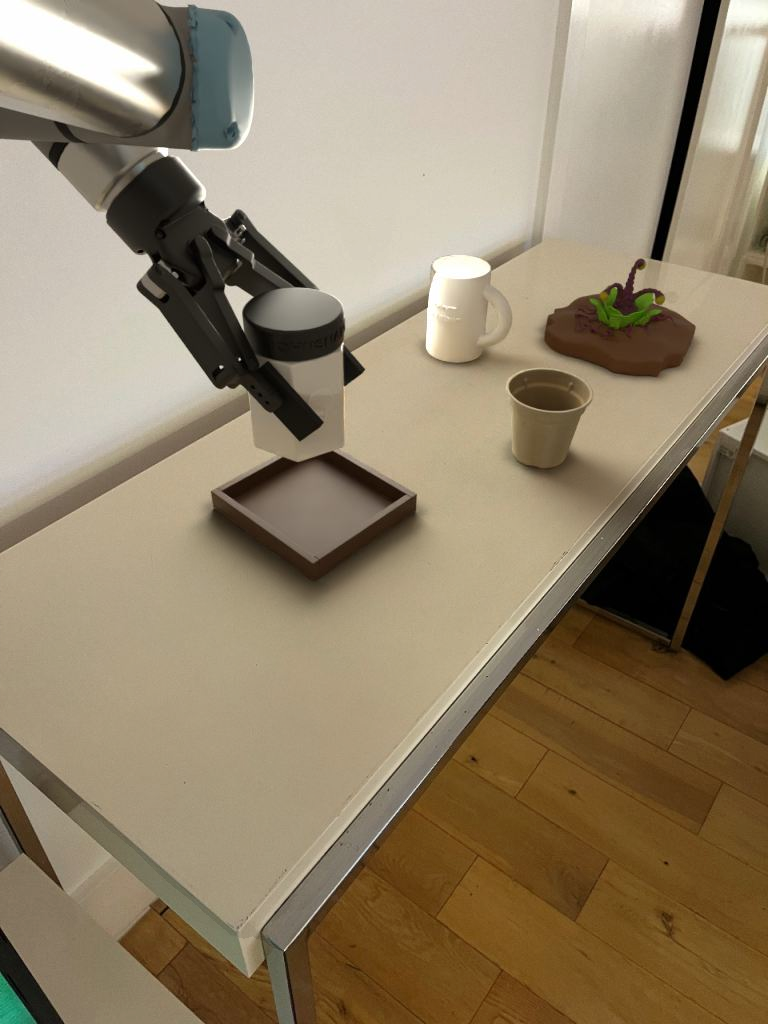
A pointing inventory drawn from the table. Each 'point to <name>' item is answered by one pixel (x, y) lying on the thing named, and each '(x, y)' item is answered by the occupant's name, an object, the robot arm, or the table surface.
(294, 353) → the jar
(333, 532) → the tray
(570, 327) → the plant
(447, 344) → the mug
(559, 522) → the table surface
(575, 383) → the flower pot
